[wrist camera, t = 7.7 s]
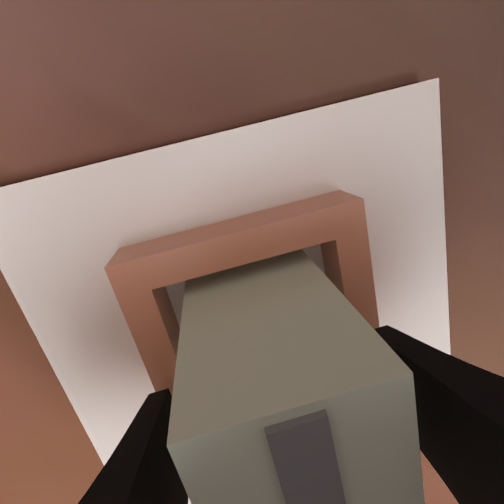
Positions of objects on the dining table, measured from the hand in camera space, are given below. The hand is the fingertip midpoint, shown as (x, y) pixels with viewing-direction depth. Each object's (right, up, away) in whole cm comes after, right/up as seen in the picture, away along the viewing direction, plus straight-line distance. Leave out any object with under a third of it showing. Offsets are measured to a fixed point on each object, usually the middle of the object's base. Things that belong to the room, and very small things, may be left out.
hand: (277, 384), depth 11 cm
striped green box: (0, +1, +2) cm, 3 cm away
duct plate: (0, +1, +3) cm, 4 cm away
